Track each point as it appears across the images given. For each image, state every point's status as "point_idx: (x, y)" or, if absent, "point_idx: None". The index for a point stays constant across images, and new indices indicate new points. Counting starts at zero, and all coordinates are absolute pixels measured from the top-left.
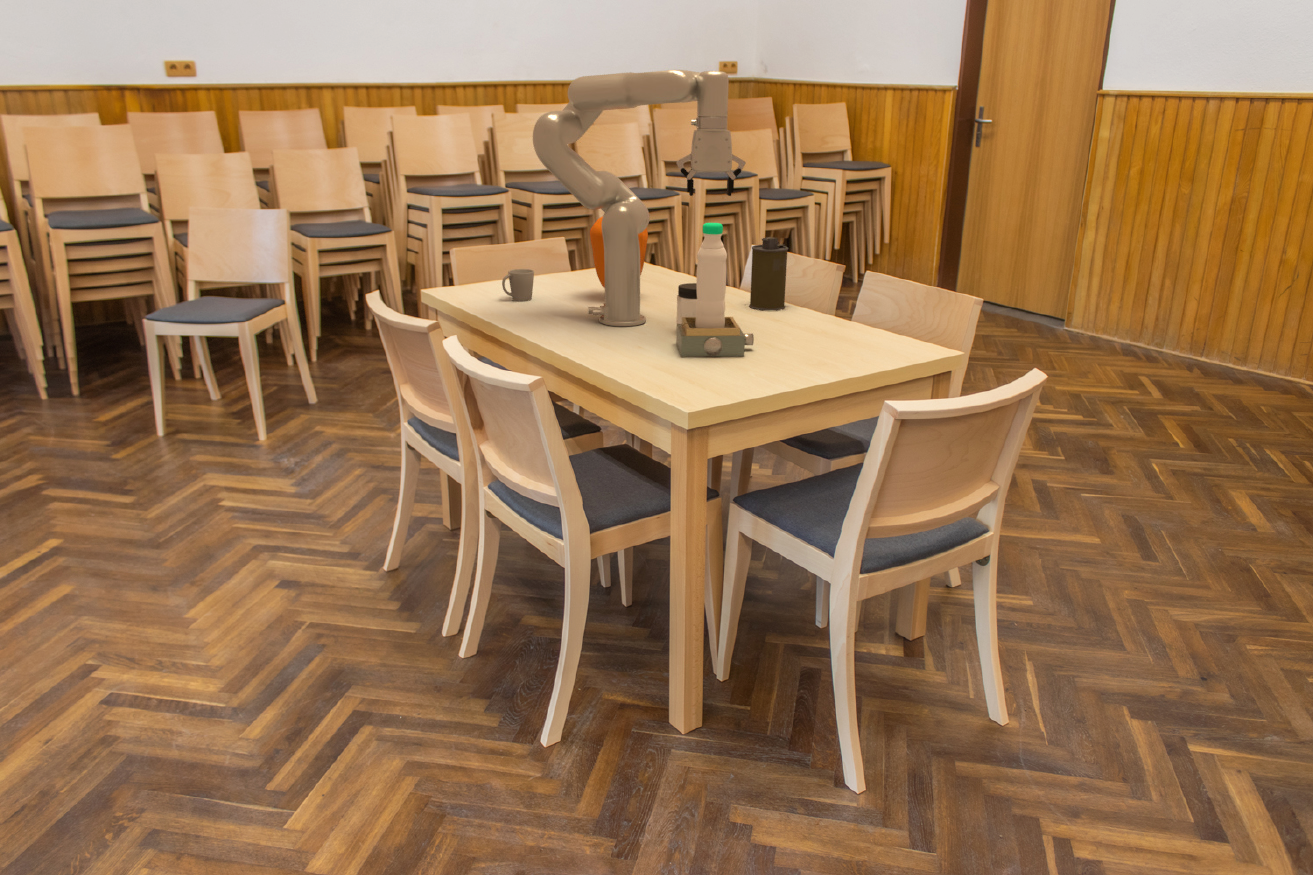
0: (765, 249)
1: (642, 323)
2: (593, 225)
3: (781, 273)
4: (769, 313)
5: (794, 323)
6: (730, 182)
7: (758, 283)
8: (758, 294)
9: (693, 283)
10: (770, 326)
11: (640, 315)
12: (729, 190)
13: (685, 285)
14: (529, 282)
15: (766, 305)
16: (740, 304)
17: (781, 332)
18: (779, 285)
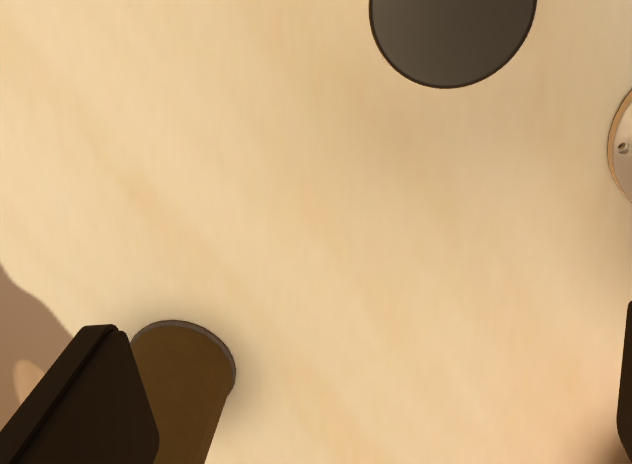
0: None
1: (627, 96)
2: None
3: None
4: (168, 289)
5: (76, 156)
6: (2, 453)
7: (184, 389)
8: (193, 363)
9: (450, 79)
10: (150, 105)
11: (629, 177)
12: (78, 361)
13: (497, 18)
14: None
15: (175, 332)
16: (264, 397)
17: (104, 12)
18: None
